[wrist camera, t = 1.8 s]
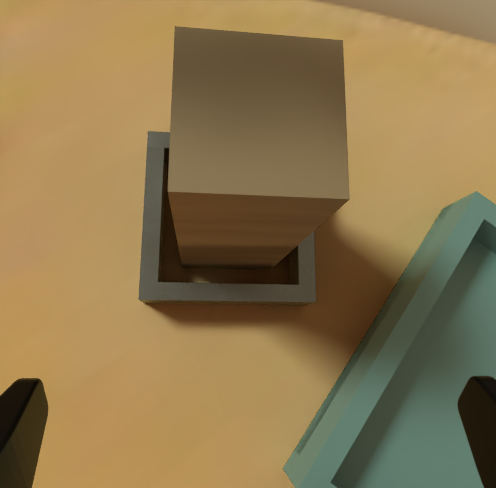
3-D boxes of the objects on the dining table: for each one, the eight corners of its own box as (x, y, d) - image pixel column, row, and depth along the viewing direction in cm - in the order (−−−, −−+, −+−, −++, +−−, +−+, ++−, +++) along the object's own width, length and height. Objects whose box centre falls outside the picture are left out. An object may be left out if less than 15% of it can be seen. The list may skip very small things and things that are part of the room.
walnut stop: (270, 269, 23) (349, 199, 11) (182, 267, 22) (167, 191, 11) (270, 186, 24) (343, 40, 12) (185, 182, 23) (175, 26, 11)
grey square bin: (305, 305, 23) (316, 302, 21) (143, 303, 22) (138, 299, 20) (302, 156, 24) (311, 140, 22) (152, 148, 23) (148, 131, 21)
